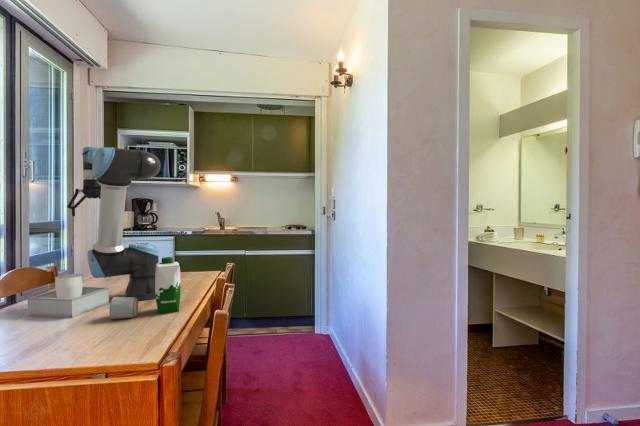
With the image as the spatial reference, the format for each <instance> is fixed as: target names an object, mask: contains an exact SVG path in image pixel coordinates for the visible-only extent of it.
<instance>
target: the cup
mask: <svg viewBox="0 0 640 426" xmlns="http://www.w3.org/2000/svg"><path fill="white" fill-rule="evenodd" d="M54 280H55V281H54V289H55V290H56V295H57V298H67V299H72V298H75V297H79V296H82V289H83V287H84V274H81V273H69V274H68V273H67V274H62V275H58V276H55V277H54Z"/></svg>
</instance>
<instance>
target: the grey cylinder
mask: <svg viewBox="0 0 640 426" xmlns="http://www.w3.org/2000/svg"><path fill="white" fill-rule="evenodd" d="M138 312H139V300H138V299H137V298H134V297H125V296H113V297H112V298H111V300H110V303H109V319H110V320H123V319H132V318H135V317H137V316H138Z"/></svg>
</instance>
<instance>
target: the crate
mask: <svg viewBox="0 0 640 426" xmlns="http://www.w3.org/2000/svg"><path fill="white" fill-rule="evenodd" d="M109 289H110V287H100V286H99V287H96V286H83V289H82V296H79V297H75V298H72V299H67V298H57V295H56V289H55V290H51V291H49V292H43V293H40V294H36V295H34V296H30V297H27V317H42V318H43V317H44V318H45V317H48V318H64V319H65V318H66V319H67V318H68V319H69V318H70V319H73V318H76V317H78V316H81V315H84V314H85V313H89V312H91V310H92V311H93V310H96V309H98V308H101V307H104V306H107V305H110V297H109V296H110V295H109V292H110V291H109Z"/></svg>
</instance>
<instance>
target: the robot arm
mask: <svg viewBox="0 0 640 426" xmlns="http://www.w3.org/2000/svg"><path fill="white" fill-rule="evenodd" d="M81 155H82V178H83V180H82V189H81V188H80V189H78V188H76V189H75V190H74V194H73V196H72V198H71V199H70V201H69V203H68V205H67V206H66V207H67V208H68V209H70V210H71V217H74V224H78V210H77V208H78V207H79V205H80V204H82V203H83V202H84V200H85V199H99V200H100V201H99V216H98V229H97V230H98V231H97V242H95V243H94V244H92V249H90V250H88V251H87V262H88V263H87V264H88V267H89V272H90V275H91V276H92V277H93V278H94V279H101V278H102V279H105V278H113V277H120V276H127V275H128V277H129V279H128V280H129V281H128V282H127V286H126V290H125V291H124V292H125V293H124V297H134V298H137V299H138V301H147V300H153V299H156V296H155V276H156V275H155V270H156V264H157V263H160V262H159V261H160V259H159V257H160V254H159V248H158V246H157V245H154V244H146V243H129V244H128V247H126V244H125V243H124V242H123V236H124V235H123V234H124V224H125V223H124V222H125V208H126V199H127V198H126V196H127V188H129V187H130V186H131V185H132V180H135V181H136V180H139V181H140V180H149V179H152V178H154V177H155V176H157V175H158V173H160V171H161V166H162V165H161V160H160V159H159V158H158V157H157V155H155V154H153V153H151V152H148V151H145V150H137V149H129V148H128V149H127V148H122V147H121V148H119V147H113V146H112V147H104V146H103V147H96V146H84V147H83V148H82V153H81ZM81 193H82V194H83V195H82V197H81V198H80V199H79V200H78V201H76V202H75V200H76V199H77V197H78V195H79V194H81ZM74 202H75V204H74V205H73V203H74Z"/></svg>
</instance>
